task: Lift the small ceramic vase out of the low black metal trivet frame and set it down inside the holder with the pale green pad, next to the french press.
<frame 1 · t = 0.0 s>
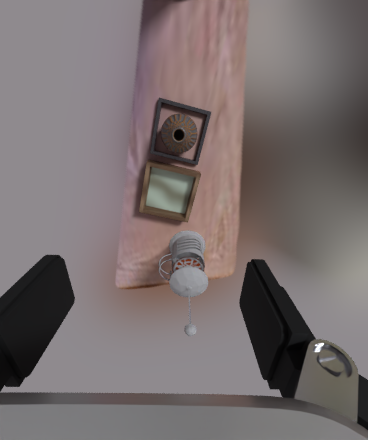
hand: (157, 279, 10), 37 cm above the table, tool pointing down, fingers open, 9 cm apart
french press: (184, 245, 54), on the table
holder: (169, 190, 47), on the table
trivet frame: (179, 133, 41), on the table
vase: (179, 133, 42), resting in trivet frame
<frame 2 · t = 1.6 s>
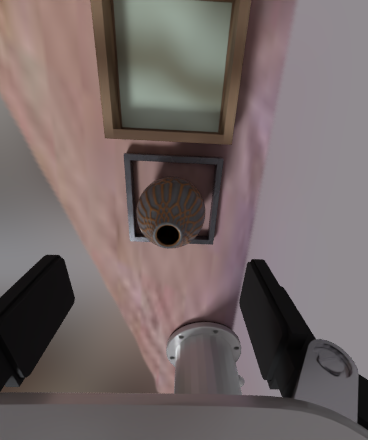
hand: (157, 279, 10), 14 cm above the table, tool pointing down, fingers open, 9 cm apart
holder: (171, 73, 19), on the table
trivet frame: (173, 200, 24), on the table
vase: (173, 200, 24), resting in trivet frame
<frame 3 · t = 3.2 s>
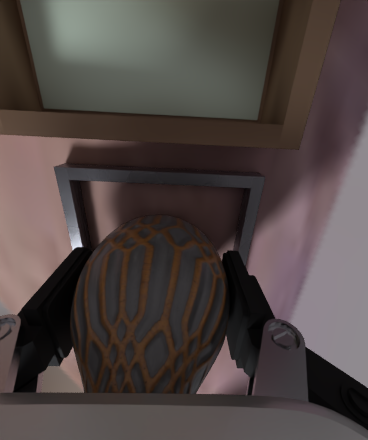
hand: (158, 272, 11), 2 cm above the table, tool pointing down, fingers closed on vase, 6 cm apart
trivet frame: (162, 249, 13), on the table
vase: (163, 247, 13), resting in trivet frame, touching gripper
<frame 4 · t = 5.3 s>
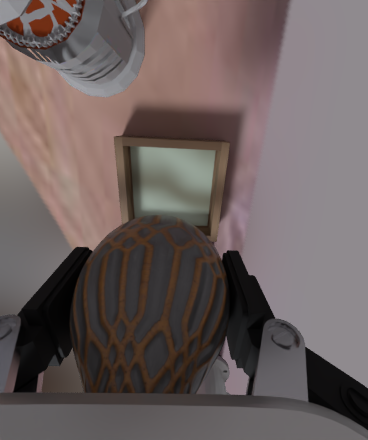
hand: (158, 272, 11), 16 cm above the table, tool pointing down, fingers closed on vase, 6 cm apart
french press: (103, 36, 19), on the table
holder: (172, 187, 25), on the table
vase: (163, 246, 13), point 13 cm above the table, touching gripper
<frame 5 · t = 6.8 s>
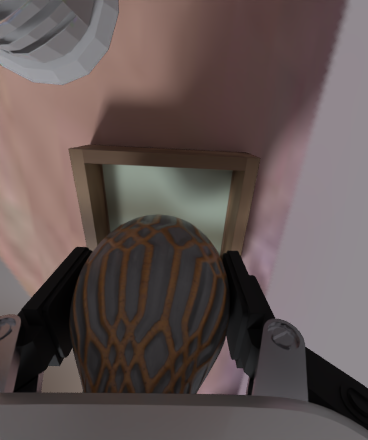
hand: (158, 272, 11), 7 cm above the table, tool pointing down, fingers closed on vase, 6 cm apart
holder: (167, 219, 17), on the table
vase: (163, 246, 13), point 5 cm above the table, touching gripper
when the fingers open (5 cm above the table, at t = 7.8 s): vase drops 2 cm, resting on holder.
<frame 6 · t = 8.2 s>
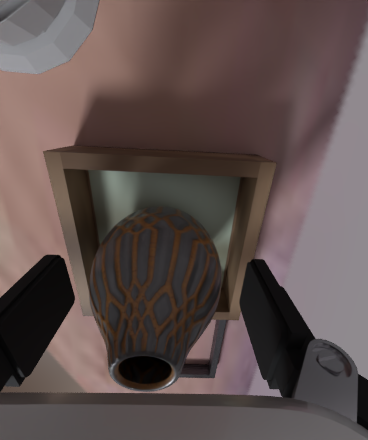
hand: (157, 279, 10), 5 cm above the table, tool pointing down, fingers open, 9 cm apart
holder: (165, 230, 15), on the table
trivet frame: (168, 337, 20), on the table
vase: (163, 236, 15), point 1 cm above the table, touching holder
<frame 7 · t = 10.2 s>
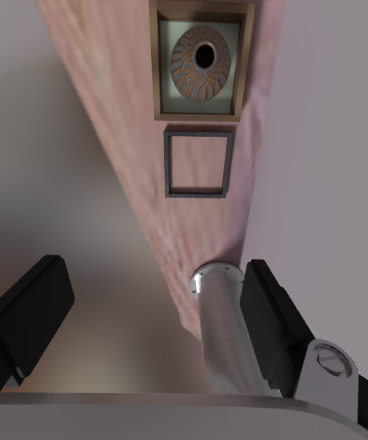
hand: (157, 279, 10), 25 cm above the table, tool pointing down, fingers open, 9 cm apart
holder: (197, 72, 27), on the table
trivet frame: (196, 166, 33), on the table
vase: (197, 73, 27), resting on holder
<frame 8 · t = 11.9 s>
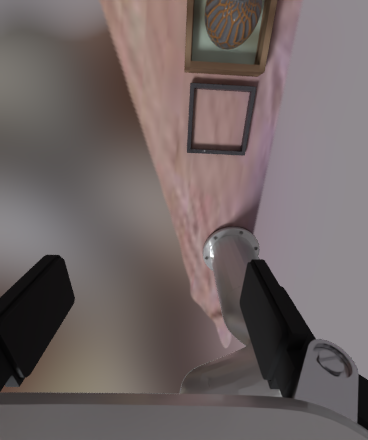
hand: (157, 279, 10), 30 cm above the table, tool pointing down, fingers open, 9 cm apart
holder: (226, 26, 29), on the table
trivet frame: (218, 121, 34), on the table
vase: (226, 26, 29), point 1 cm above the table, touching holder
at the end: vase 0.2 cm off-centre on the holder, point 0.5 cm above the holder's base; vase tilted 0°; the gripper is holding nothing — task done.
